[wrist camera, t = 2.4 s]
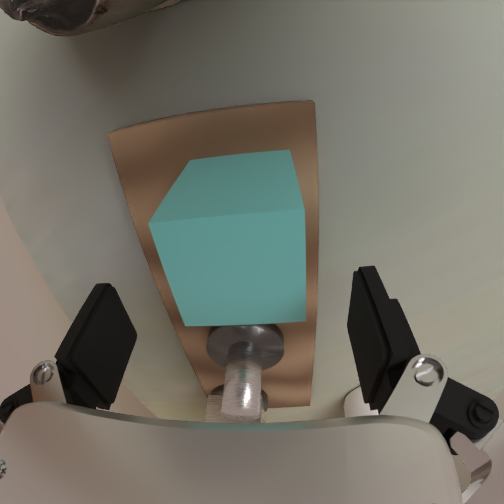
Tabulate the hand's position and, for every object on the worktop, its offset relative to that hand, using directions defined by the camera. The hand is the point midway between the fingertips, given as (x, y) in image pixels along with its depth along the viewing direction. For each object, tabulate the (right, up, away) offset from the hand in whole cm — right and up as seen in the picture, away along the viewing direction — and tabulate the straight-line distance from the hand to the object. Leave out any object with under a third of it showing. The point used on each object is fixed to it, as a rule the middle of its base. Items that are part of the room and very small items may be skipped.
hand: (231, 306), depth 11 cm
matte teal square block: (0, +5, +5) cm, 7 cm away
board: (0, -3, +12) cm, 12 cm away
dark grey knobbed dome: (0, -4, +13) cm, 14 cm away
